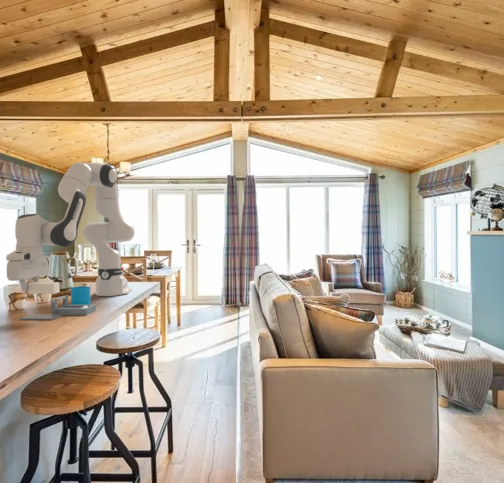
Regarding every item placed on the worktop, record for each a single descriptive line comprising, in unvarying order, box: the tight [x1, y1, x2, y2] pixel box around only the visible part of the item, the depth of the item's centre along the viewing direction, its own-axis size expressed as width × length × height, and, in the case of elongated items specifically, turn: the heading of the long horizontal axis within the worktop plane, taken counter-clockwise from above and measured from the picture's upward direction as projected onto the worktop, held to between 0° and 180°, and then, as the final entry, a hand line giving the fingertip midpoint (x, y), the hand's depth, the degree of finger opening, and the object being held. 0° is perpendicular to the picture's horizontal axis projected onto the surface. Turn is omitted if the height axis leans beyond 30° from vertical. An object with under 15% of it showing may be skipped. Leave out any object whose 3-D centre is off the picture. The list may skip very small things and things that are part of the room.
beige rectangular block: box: [20, 281, 60, 295], centre depth 142 cm, size 13×4×4 cm, turn 88°
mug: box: [70, 285, 92, 305], centre depth 167 cm, size 12×8×8 cm
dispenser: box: [50, 294, 97, 316], centre depth 151 cm, size 14×10×6 cm
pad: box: [19, 313, 63, 321], centre depth 142 cm, size 7×13×1 cm, turn 87°
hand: (29, 288), depth 142 cm, fingers closed on beige rectangular block, 4 cm apart
